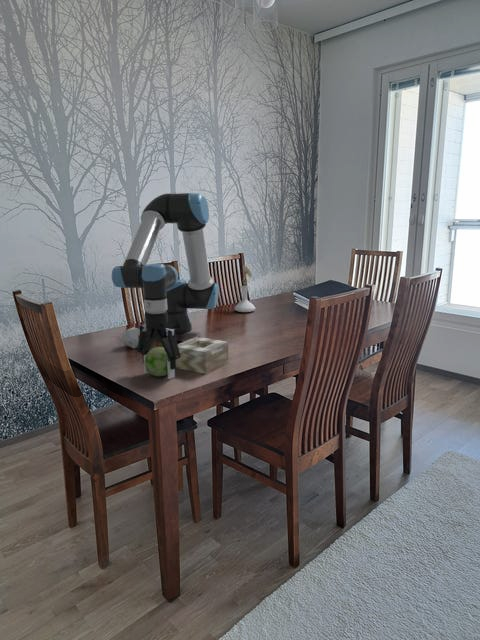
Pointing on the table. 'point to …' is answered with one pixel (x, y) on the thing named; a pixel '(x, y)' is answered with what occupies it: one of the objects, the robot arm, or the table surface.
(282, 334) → the table surface
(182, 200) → the robot arm
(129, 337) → the grey faceted polyhedron
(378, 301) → the table surface
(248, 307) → the flower in vase
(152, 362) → the decorative ball
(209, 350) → the display stand
